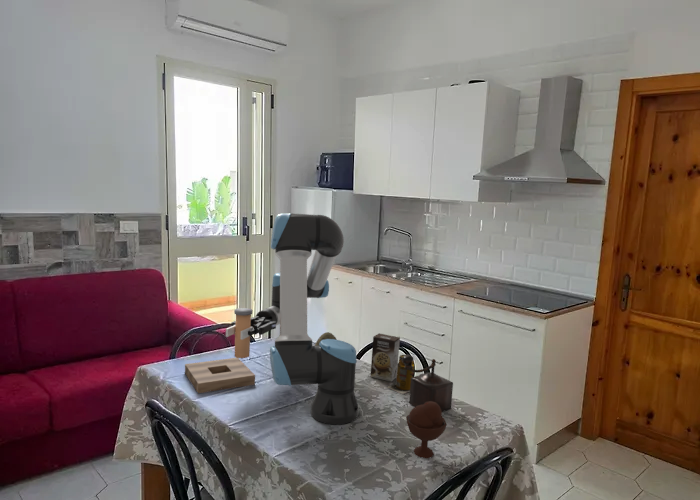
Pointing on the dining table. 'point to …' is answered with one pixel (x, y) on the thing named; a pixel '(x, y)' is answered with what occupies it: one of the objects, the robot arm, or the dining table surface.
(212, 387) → the walnut block
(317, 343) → the decorative egg
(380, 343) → the cookie box
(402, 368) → the condiment
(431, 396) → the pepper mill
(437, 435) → the ice cream bowl
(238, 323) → the peg
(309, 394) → the dining table surface
